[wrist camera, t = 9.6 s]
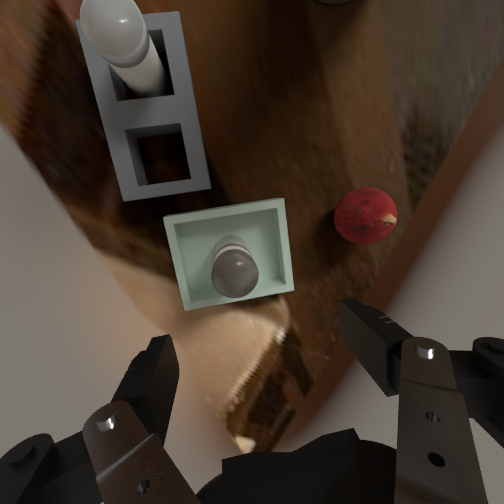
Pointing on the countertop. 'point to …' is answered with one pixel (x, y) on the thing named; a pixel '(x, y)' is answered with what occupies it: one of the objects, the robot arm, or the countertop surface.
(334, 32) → the countertop surface
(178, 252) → the parts tray
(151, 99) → the block
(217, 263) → the cylinder
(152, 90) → the ball
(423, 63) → the countertop surface
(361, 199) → the onion
